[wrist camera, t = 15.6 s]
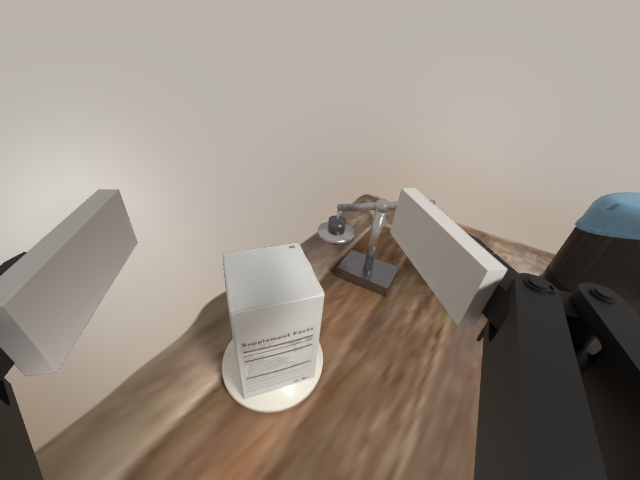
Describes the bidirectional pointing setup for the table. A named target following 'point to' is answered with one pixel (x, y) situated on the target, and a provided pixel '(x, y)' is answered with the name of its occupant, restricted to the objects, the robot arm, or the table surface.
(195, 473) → the table surface
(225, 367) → the cream dish
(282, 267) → the supplement box
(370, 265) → the balance
